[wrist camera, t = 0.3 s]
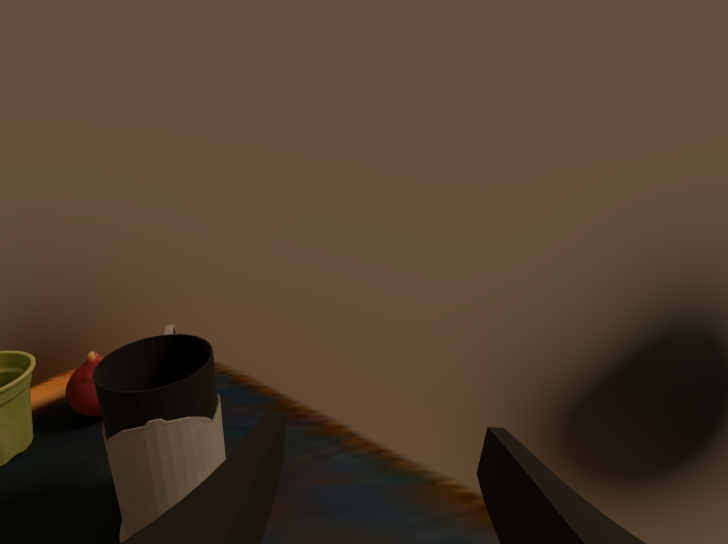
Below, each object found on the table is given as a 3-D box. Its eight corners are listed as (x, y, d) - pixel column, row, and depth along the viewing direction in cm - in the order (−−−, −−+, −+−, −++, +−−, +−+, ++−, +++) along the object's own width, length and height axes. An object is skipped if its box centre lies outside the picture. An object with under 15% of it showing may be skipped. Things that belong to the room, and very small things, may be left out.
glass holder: (107, 586, 25) (59, 412, 20) (140, 440, 37) (115, 310, 33) (238, 541, 28) (224, 382, 24) (228, 420, 41) (218, 300, 36)
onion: (147, 404, 43) (137, 345, 40) (100, 438, 37) (85, 374, 35) (110, 392, 44) (98, 335, 42) (60, 424, 39) (43, 361, 36)
